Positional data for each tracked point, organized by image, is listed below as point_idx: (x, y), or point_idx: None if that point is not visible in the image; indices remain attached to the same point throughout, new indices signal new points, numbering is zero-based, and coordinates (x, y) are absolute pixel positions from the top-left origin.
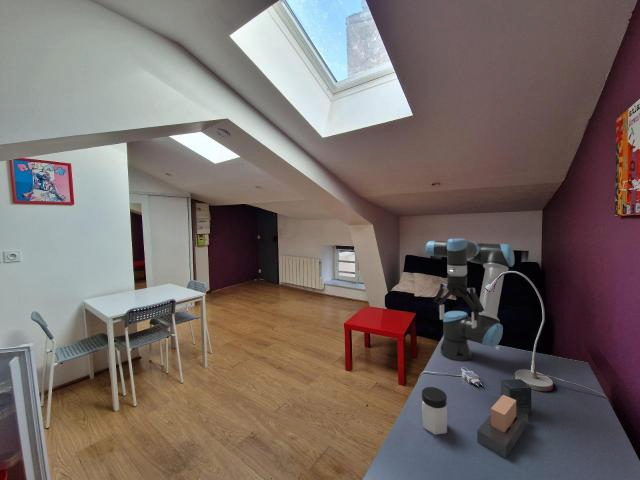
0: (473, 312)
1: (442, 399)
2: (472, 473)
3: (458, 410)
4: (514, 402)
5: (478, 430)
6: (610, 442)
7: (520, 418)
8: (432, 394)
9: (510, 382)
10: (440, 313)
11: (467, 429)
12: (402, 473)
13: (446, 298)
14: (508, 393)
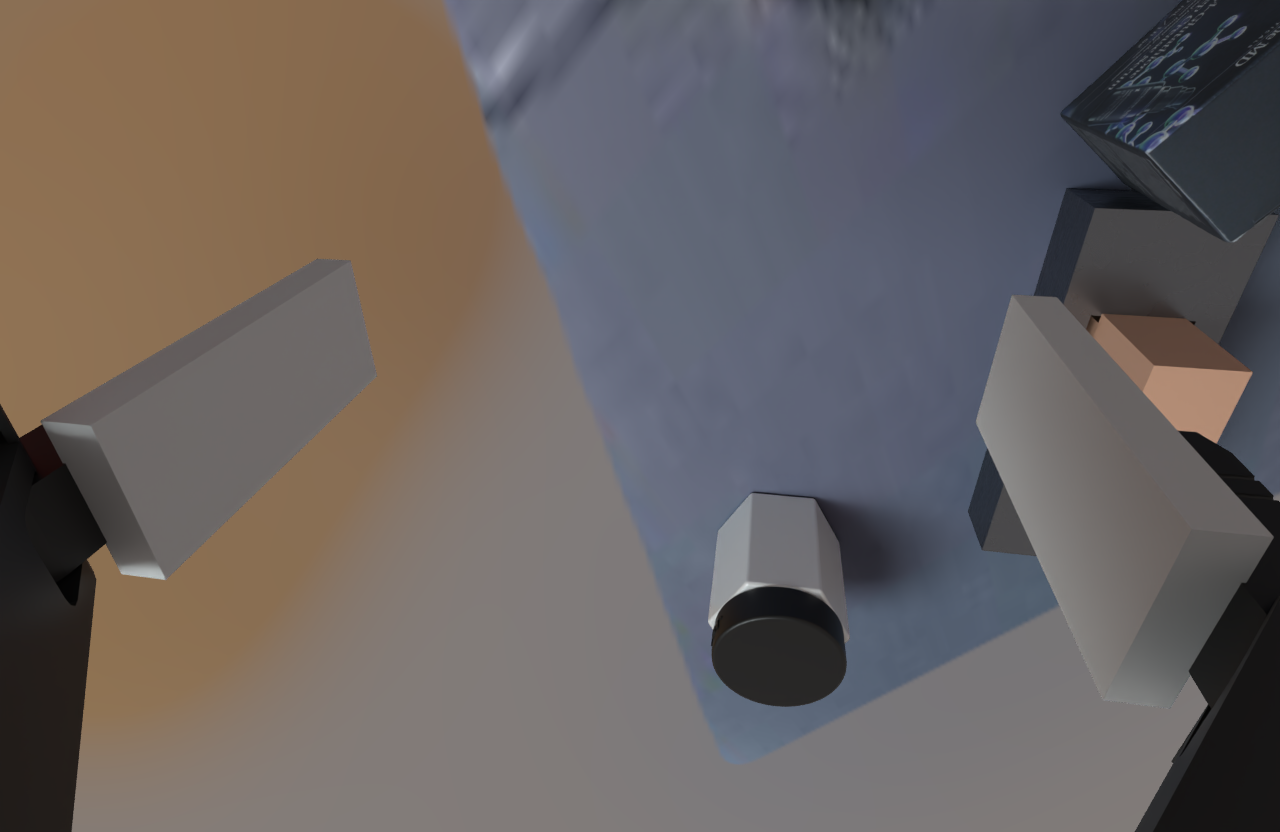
0: (1162, 679)
1: (834, 682)
2: (978, 643)
3: (829, 368)
4: (1234, 407)
5: (987, 548)
6: None
7: (1212, 317)
8: (773, 672)
9: (1238, 145)
10: (289, 443)
11: (910, 468)
12: (790, 739)
13: (16, 741)
14: (1177, 207)
